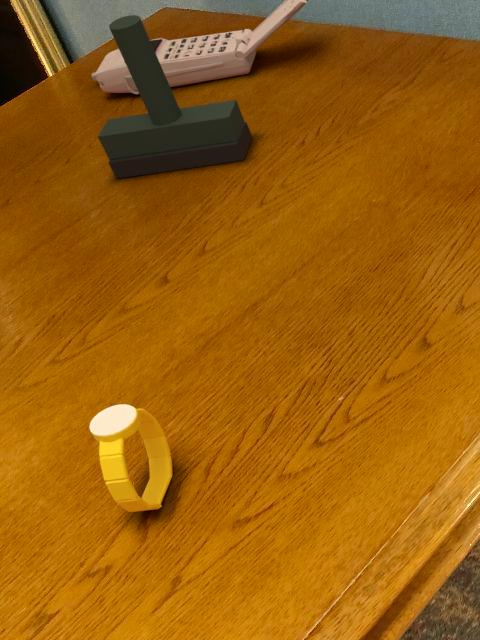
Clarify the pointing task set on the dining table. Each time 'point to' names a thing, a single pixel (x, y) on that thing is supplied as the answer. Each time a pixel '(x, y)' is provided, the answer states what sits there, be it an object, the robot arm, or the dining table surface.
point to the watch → (111, 434)
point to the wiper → (167, 118)
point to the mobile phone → (198, 55)
